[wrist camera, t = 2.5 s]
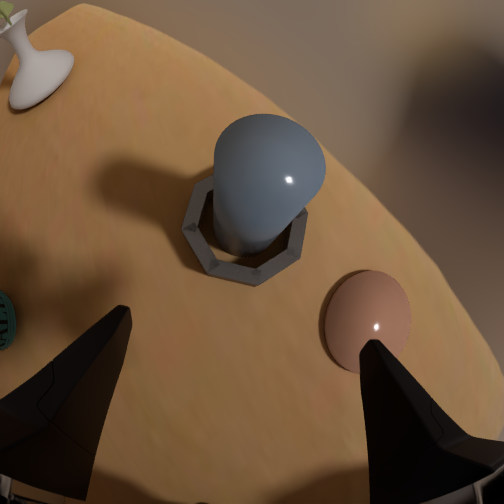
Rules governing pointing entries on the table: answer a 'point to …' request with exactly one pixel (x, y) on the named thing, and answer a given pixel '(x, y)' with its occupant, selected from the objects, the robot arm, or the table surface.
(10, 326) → the beverage bottle
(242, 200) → the blue-grey cylinder
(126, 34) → the table surface
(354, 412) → the table surface
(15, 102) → the flower in vase
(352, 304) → the terracotta coaster
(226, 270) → the dark grey octagonal ring
